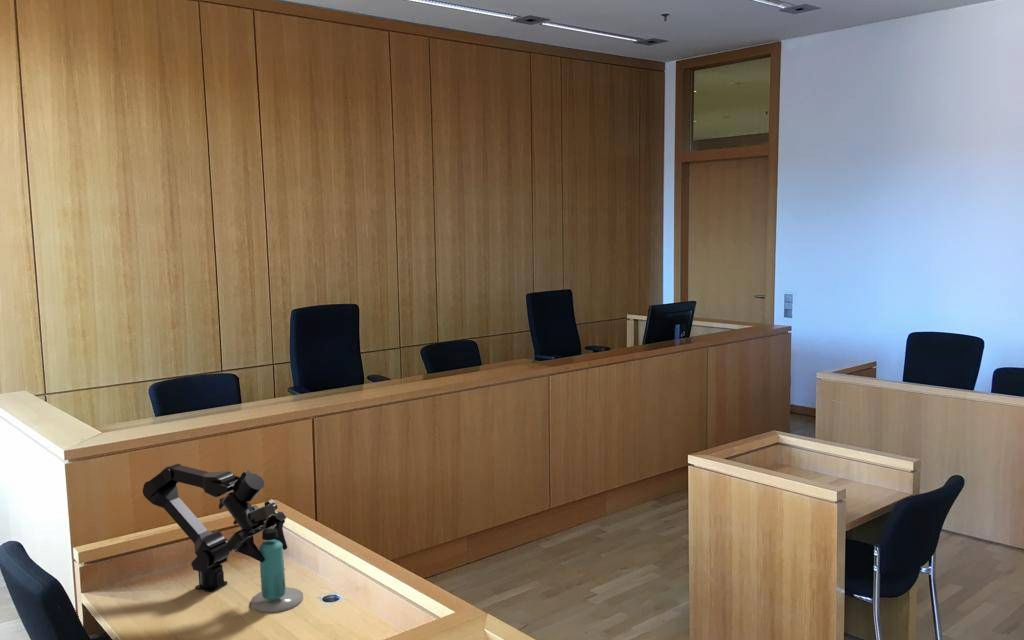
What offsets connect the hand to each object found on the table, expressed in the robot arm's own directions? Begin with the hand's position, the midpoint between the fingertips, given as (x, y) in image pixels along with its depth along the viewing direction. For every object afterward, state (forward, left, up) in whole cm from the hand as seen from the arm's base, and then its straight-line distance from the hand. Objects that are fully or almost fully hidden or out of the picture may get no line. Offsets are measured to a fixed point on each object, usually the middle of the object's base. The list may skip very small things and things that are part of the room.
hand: (275, 555), depth 227 cm
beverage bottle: (0, -1, -13) cm, 13 cm away
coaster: (0, 0, -13) cm, 13 cm away
